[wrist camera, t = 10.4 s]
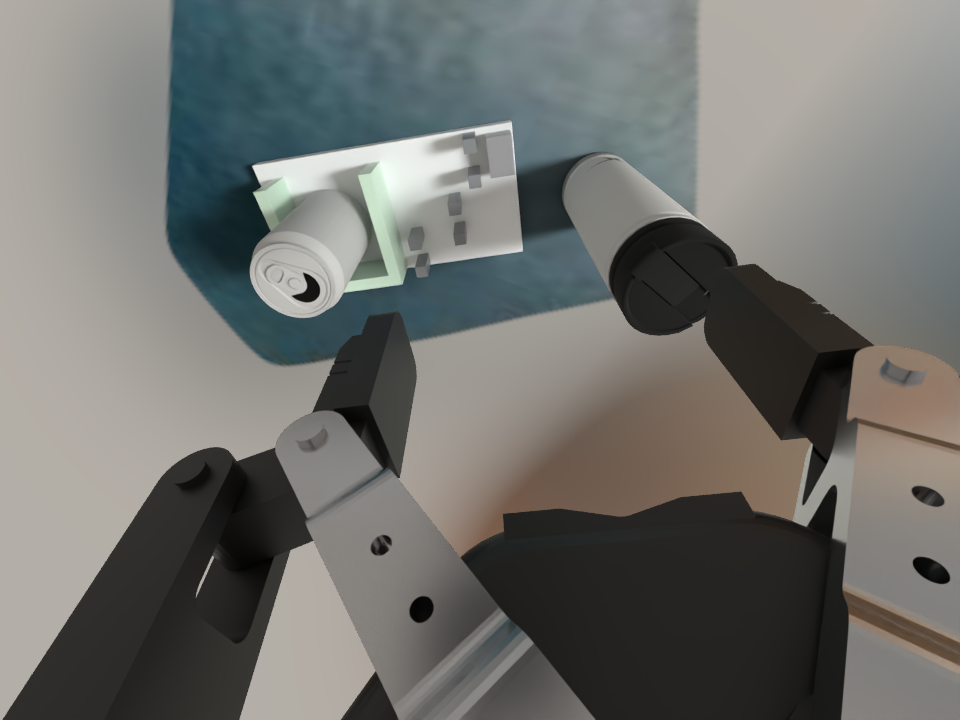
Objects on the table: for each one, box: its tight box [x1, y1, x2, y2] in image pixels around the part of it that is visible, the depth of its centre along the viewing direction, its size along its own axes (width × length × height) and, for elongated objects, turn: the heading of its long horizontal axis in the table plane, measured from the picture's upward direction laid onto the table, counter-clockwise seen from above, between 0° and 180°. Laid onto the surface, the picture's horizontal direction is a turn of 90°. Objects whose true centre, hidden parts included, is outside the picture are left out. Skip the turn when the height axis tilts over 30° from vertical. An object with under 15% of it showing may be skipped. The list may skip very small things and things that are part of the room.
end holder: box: [253, 161, 408, 293], centre depth 37 cm, size 10×10×4 cm
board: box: [252, 120, 523, 278], centre depth 37 cm, size 11×22×4 cm, turn 98°
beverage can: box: [250, 190, 371, 318], centre depth 34 cm, size 6×6×12 cm
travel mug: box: [562, 152, 738, 336], centre depth 30 cm, size 6×7×20 cm
